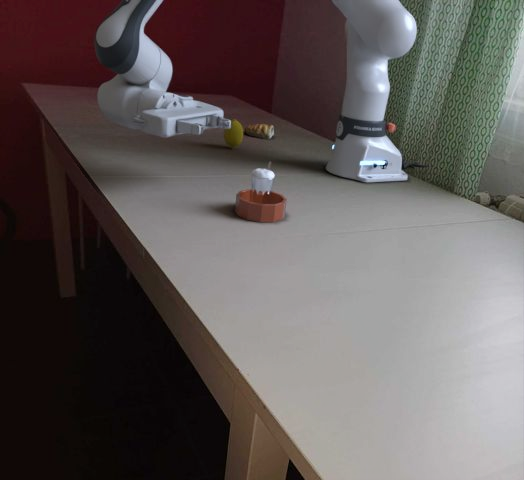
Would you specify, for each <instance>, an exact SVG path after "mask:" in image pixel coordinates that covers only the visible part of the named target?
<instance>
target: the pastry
mask: <svg viewBox="0 0 524 480" xmlns="http://www.w3.org/2000/svg"><path fill="white" fill-rule="evenodd" d="M274 130H275V129H274V125H273V124H269V125H268V124H265V123H256V124H252V125H251V124H250V125H246V126H245V127H244V132H245V134H247V136H248V135H249V136H250V137H251V136H252V137H256V138H259V139H260V138H262V139H266V140H267V139H269V140H270V139H272V137H273V136H274V135H275V131H274Z"/></svg>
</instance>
